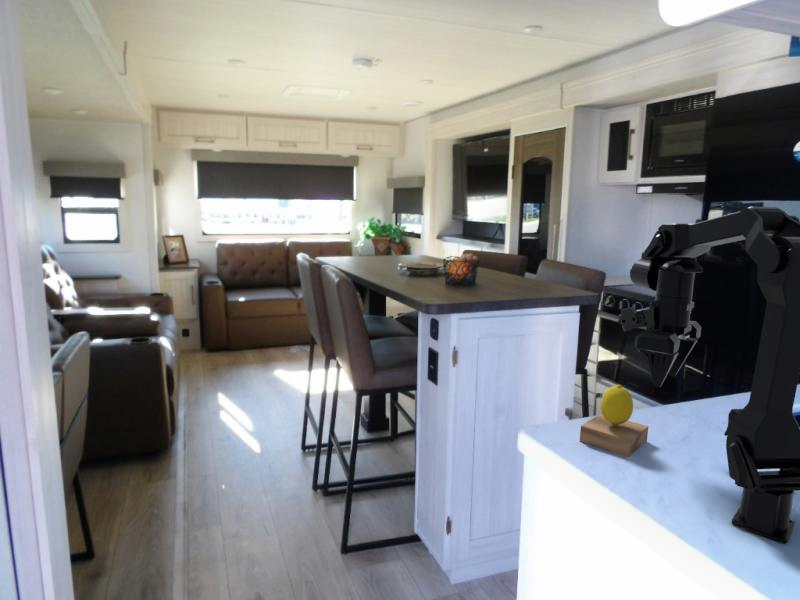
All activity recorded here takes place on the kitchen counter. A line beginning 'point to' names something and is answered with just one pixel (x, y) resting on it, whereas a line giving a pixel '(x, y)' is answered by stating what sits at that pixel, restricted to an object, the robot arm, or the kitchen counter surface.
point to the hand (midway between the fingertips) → (664, 381)
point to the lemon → (617, 405)
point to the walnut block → (614, 435)
